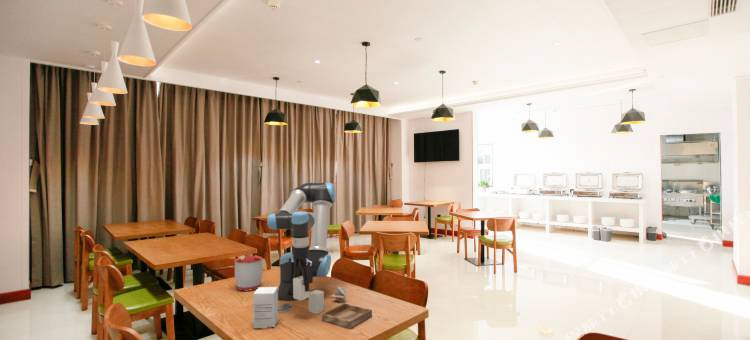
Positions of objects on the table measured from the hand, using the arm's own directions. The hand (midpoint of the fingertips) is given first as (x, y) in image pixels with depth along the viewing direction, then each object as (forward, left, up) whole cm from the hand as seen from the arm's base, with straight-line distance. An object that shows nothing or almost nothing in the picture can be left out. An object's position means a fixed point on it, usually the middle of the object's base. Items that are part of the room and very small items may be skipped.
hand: (301, 296), depth 159 cm
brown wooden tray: (+18, +10, -9) cm, 23 cm away
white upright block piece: (0, +9, -9) cm, 13 cm away
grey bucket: (-58, +13, -10) cm, 60 cm away
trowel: (-15, -1, -9) cm, 17 cm away
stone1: (0, 0, 0) cm, 0 cm away
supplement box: (-8, -14, -10) cm, 18 cm away
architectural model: (+2, +26, -10) cm, 28 cm away
